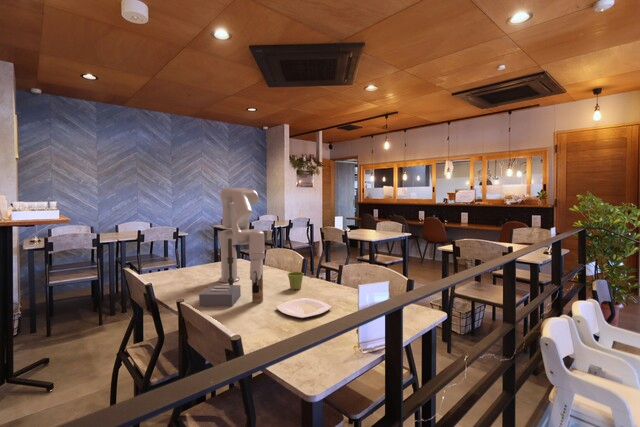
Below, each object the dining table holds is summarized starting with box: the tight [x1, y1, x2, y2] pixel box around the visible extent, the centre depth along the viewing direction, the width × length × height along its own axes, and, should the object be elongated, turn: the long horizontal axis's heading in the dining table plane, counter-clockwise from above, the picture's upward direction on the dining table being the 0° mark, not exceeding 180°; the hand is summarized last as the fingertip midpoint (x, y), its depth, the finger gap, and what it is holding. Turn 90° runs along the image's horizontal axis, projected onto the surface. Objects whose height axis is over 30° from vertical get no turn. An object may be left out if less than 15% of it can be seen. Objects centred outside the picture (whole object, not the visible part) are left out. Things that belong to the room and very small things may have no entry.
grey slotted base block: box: [198, 284, 242, 308], centre depth 172 cm, size 16×16×7 cm
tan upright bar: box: [251, 273, 264, 304], centre depth 170 cm, size 2×5×14 cm, turn 89°
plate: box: [275, 297, 333, 319], centre depth 159 cm, size 23×23×2 cm
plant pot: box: [287, 271, 305, 290], centre depth 193 cm, size 9×9×9 cm
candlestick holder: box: [227, 239, 235, 285], centre depth 189 cm, size 9×9×30 cm
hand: (257, 289), depth 170 cm, fingers open, 8 cm apart
